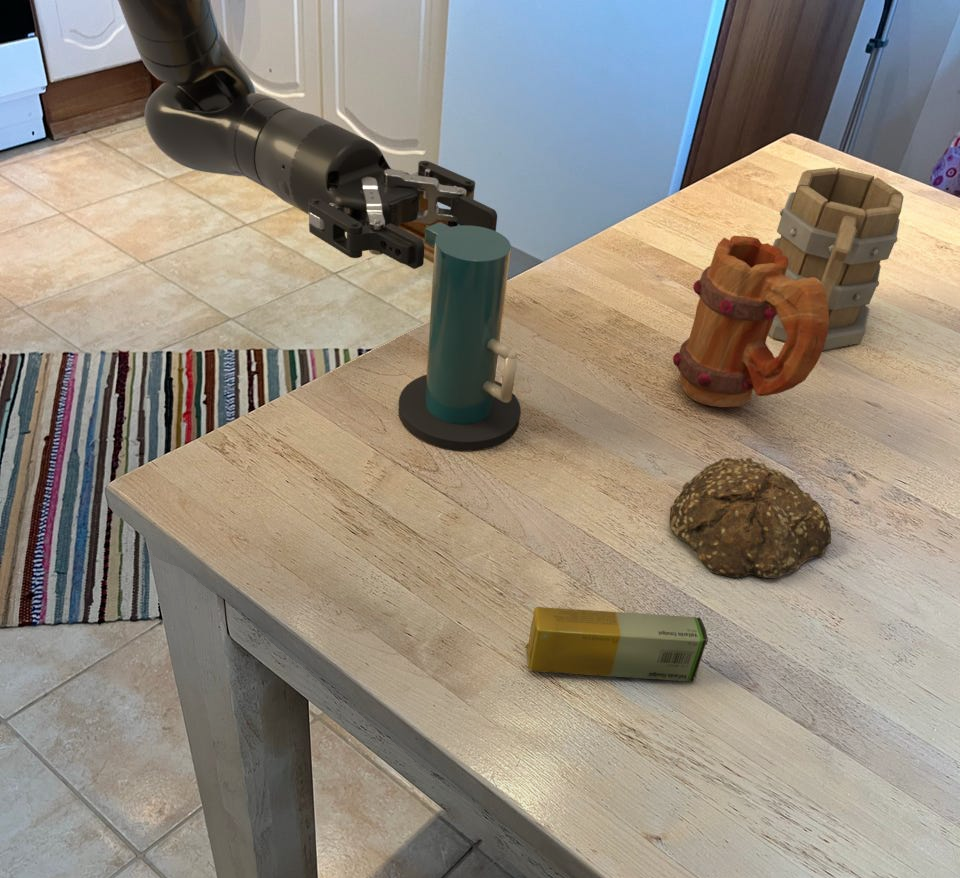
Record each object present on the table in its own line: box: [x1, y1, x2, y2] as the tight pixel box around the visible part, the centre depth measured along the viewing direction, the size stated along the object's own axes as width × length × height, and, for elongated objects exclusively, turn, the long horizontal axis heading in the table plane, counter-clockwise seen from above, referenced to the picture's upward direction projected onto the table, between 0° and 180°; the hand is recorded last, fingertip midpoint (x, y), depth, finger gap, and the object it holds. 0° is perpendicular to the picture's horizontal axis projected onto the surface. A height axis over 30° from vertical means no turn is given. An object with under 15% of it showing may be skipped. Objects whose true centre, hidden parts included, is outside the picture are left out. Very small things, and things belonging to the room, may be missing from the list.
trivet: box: [397, 374, 522, 452], centre depth 88 cm, size 11×11×1 cm
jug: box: [424, 221, 519, 424], centre depth 82 cm, size 10×6×15 cm, turn 48°
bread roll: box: [668, 457, 832, 579], centre depth 79 cm, size 13×12×5 cm
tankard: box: [768, 167, 904, 351], centre depth 99 cm, size 20×13×15 cm, turn 160°
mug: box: [672, 235, 829, 408], centre depth 88 cm, size 15×8×15 cm, turn 27°
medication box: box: [524, 606, 709, 683], centre depth 68 cm, size 12×3×4 cm, turn 91°
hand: (458, 240), depth 78 cm, fingers open, 8 cm apart
